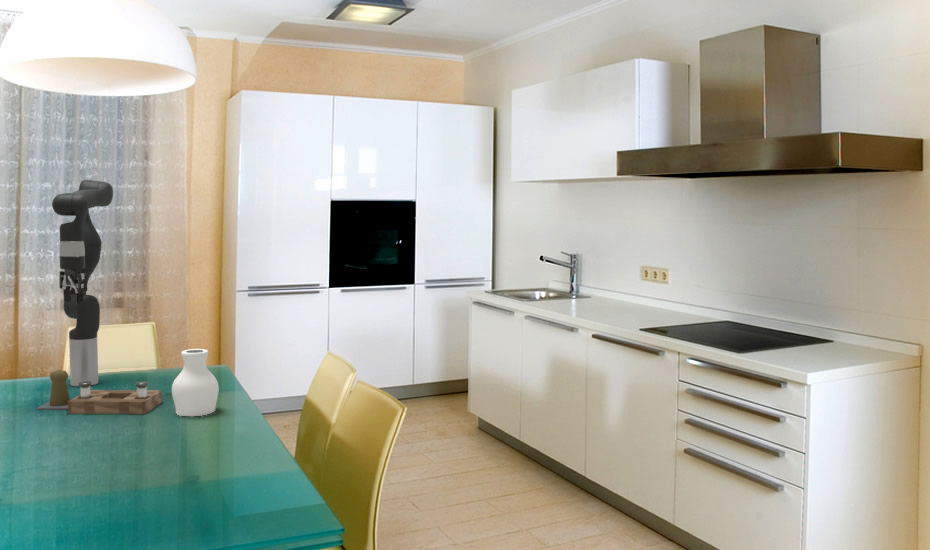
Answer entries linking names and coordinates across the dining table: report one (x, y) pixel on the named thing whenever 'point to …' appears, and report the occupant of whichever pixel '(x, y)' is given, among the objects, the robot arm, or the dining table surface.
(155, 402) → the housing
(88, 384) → the plunger
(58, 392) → the cork
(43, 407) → the pad
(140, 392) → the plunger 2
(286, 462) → the dining table surface
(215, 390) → the vase
